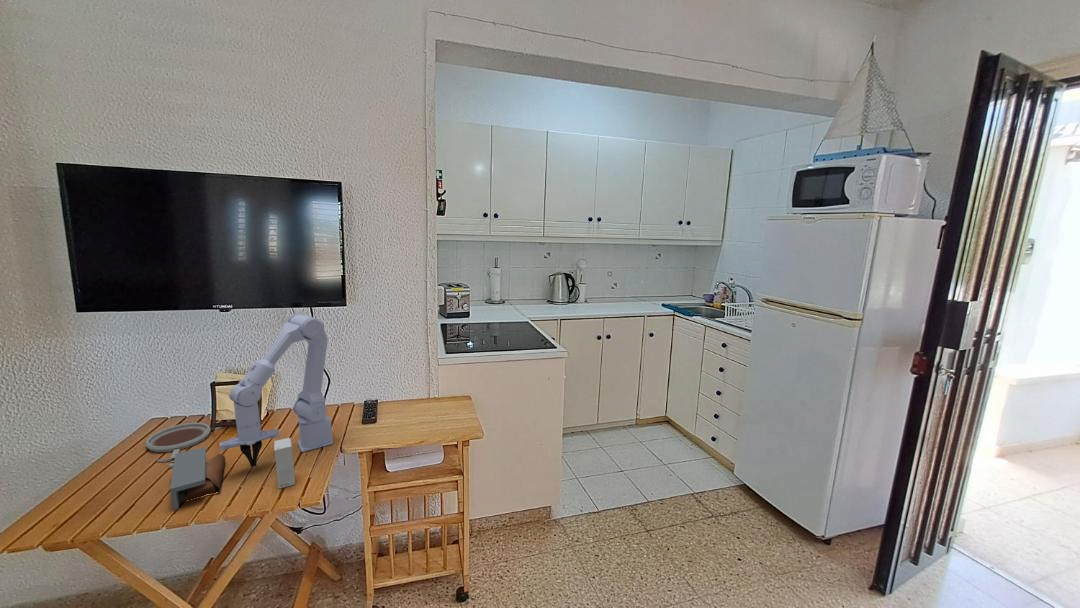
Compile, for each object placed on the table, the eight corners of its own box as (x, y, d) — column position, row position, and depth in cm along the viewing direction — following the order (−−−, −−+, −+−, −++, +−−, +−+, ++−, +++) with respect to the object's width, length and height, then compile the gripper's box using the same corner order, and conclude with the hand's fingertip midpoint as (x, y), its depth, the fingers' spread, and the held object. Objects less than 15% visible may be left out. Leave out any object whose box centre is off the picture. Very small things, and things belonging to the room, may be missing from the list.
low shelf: (208, 465, 131) (205, 446, 129) (207, 500, 115) (204, 479, 114) (178, 472, 126) (175, 453, 125) (173, 510, 111) (170, 489, 110)
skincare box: (295, 484, 122) (291, 446, 120) (278, 489, 120) (273, 450, 118) (294, 473, 128) (290, 436, 125) (277, 478, 125) (273, 440, 123)
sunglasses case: (190, 469, 128) (202, 448, 129) (217, 474, 132) (228, 454, 133) (181, 503, 113) (194, 480, 114) (211, 507, 117) (224, 485, 118)
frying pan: (132, 471, 123) (149, 428, 146) (133, 480, 124) (150, 436, 147) (206, 454, 133) (212, 417, 155) (207, 463, 133) (213, 424, 156)
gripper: (217, 435, 119) (223, 479, 122) (278, 421, 127) (283, 463, 130) (217, 425, 124) (223, 467, 127) (275, 412, 133) (280, 452, 136)
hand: (253, 464), depth 129 cm, fingers closed
